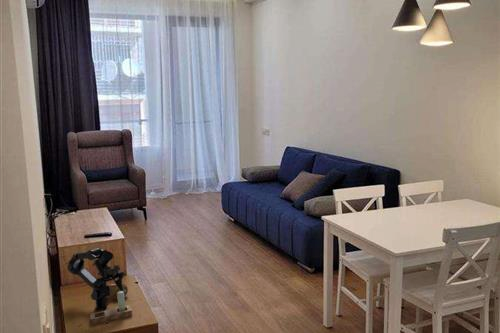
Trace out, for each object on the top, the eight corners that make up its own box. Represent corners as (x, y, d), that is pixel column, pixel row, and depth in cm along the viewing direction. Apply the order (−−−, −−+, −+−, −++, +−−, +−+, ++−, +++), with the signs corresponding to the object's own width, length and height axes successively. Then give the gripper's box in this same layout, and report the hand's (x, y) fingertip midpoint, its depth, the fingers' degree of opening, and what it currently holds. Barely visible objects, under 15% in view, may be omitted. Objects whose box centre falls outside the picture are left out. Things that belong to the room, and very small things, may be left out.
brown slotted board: (91, 324, 243) (90, 318, 243) (90, 318, 250) (90, 313, 249) (132, 315, 251) (131, 310, 250) (130, 310, 257) (130, 304, 257)
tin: (102, 299, 274) (100, 286, 273) (103, 297, 277) (102, 284, 276) (127, 297, 275) (126, 284, 274) (128, 295, 278) (127, 282, 277)
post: (118, 315, 252) (115, 292, 251) (124, 312, 255) (121, 290, 253) (121, 317, 250) (119, 294, 248) (127, 314, 252) (125, 292, 250)
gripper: (97, 265, 245) (110, 290, 241) (123, 257, 261) (136, 281, 257) (86, 275, 250) (99, 300, 246) (112, 267, 266) (125, 290, 262)
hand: (115, 292), depth 252 cm, fingers open, 9 cm apart
